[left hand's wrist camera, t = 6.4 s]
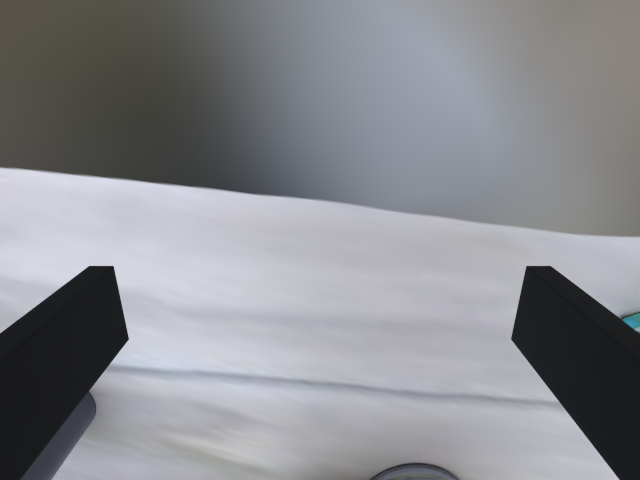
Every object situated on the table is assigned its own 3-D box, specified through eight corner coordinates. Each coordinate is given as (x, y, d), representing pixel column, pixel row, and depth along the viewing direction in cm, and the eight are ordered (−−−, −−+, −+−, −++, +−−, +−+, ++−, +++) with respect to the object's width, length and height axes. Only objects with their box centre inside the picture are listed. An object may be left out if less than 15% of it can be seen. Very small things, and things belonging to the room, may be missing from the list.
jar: (103, 388, 49) (6, 521, 34) (87, 439, 52) (-7, 580, 37) (28, 364, 48) (-107, 490, 33) (16, 417, 51) (-112, 555, 36)
